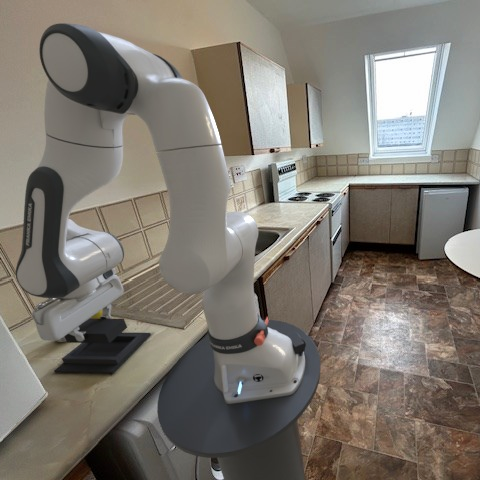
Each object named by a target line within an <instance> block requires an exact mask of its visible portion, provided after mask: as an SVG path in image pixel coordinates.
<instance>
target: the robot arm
mask: <svg viewBox="0 0 480 480" xmlns="http://www.w3.org/2000/svg"><path fill="white" fill-rule="evenodd" d="M39 60H40V62H41V63H40V64H41V66H42V69H43V71H44V73H45V75H46V77H47V79H48V80H47V83H46V89H45V96H44V112H43V113H44V114H43V115H44V131H45V147H44V151H43V155H42V157H41V160H40V162H39V165H37V167H36V168H35V169H34V170H33V171H32V172H31V173H30V174H29V175H28V178H27V182H26V186H25V194H24V206H23V207H24V208H23V224H22V227H23V228H22V238H21V239H22V240H21V250H20V254H19V258H18V260H17V262H16V267H15V279H16V281H17V283H18V285H19V286H20V288H21V289H22V290H23V291H24V292H25V293H27V294H29V295H30V296H33V297H38V298H43V299H46V300H44V301H40V302H39V303H37V304H36V306H35V308H34V309H33V311H32V312H31V317H32V320H33V321H34V324H35V327H36V331H37V333H38V335H39V337H40V339H41V340H42V341H50V342H54V341H56V342H58V341H57V340H60V339H61V338H63V337H64V336H66V335H67V334H70V335H73V336H75V338H76V340H77V341H84V340H85V339H86V338H87V337H88V335H87V332H79V331H77V330H79V329H80V328H79V326H80V325H81V324H82V323H84V322H85V321H87V320H88V319H89V318H91V317H92V316H94V315H95V314H96V313H98V312H99V311H101V310H102V316H100V318H101V319H113V317H112V315H111V312H112V303H114V302H115V301H116V300H117V299H119V298H120V297H122V296H123V295H124V289H125V288H124V286H123V284H122V282H121V279H120V277H119V276H118V275H117V271H116V269H115V268H116V267H117V266H119V265H120V264H122V263H123V261H124V258H125V250H124V249H125V248H124V245H123V244H122V242H121V240H120V239H118V238H117V236H115V235H114V234H112V233H111V232H108V231H105V230H94V229H89V228H87V227H82V226H80V225H78V224H77V223H76V222H74V220H73V219H71V218H70V214H71V213H72V211H73V209H74V208H75V207H76V206H77V205H78V204H79V203H80V202H81V201H83V200H84V199H85V198H86V197H88V196H89V195H91V194H92V193H94V192H96V191H97V190H99V189H101V188H103V187H105V186H107V185H108V184H110V183H111V182H112V181H114V180H115V179H116V178H117V177H118V176H119V175H120V172H121V169H122V167H123V161H124V136H123V135H124V134H123V127H124V126H123V125H124V122H125V120H126V118H127V117H129V116H137V117H139V119H141V120H142V121H143V122H144V124H145V125H146V127H147V129H148V131H149V134H150V137H151V140H152V143H153V147H154V151H155V152H156V158H157V160H158V163H159V167H160V170H161V173H162V176H163V179H164V183H165V187H166V191H167V195H168V201H169V227H168V236H167V239H166V243H165V245H164V248H163V250H162V252H161V253H160V256H159V259H158V267H159V271H160V275H161V277H162V278H163V280H164V282H165V283H166V284H167V285H168V286H169V287H171V289H173V290H175V291H177V292H179V293H181V294H185V295H199V294H201V293H203V294H202V298H201V306H202V311H203V313H204V317H205V321H206V325H207V331H206V332H207V337H209V342H210V346H211V348H212V349H213V351H214V358H215V374H214V382H215V385H216V387H217V388H218V389H219V390H220V391H221V392H222V393H223V395H224V399H225V402H226V403H227V404H233V403H240V402H247V401H254V400H261V399H268V398H275V397H282V396H288V395H292V394H293V393H294V392H295V391H296V390H297V388H298V387H299V385H300V383H301V381H302V378H303V375H304V370H305V356H304V352H303V351H305V347H306V343H305V341H304V340H303V339H301V338H300V336H299V334H298V333H297V332H294V333H292V334H289V335H288V336H286V335H283V334H281V333H279V332H278V331H276V330H273V329H271V328H269V327H267V324H268V320H269V316H266V317H265V319H262V317H261V316H260V315H259V313H258V309H257V303H256V297H255V288H254V287H255V285H254V280H255V279H254V277H255V255H256V245H257V242H258V238H259V226H258V224H257V223H256V221H255V219H254V218H253V217H252V216H251V215H249V214H247V213H246V212H243V211H228V212H227V209H228V200H229V196H230V194H231V189H232V182H231V179H230V178H231V177H230V175H229V170H228V166H227V162H226V157H225V154H224V149H223V145H222V140H221V137H220V133H219V130H218V127H217V123H216V120H215V118H214V115H213V113H212V110H211V107H210V105H209V102H208V100H207V98H206V96H205V94H204V92H203V90H202V89H201V88H200V87H199V86H198V85H196V84H195V83H194V82H192V81H190V80H187V79H185V78H183V76H182V75H181V73H180V71H179V70H177V68H176V67H175V66H174V65H173V64H172V63H171V62H169V61H168V60H167V59H166V58H164V57H162V56H160V55H158V54H155V53H152V52H150V51H148V50H146V49H145V48H142V47H140V46H137V45H136V44H135V43H133V42H131V41H129V40H127V39H124V38H121V37H119V36H114V35H112V34H109V33H104V32H100V31H97V30H96V29H94V28H92V27H90V26H87V25H82V24H75V23H65V22H63V23H54V24H52V25H49V26H48V27H47V28H46V29H45V31H43V33H42V35H41V37H40V41H39ZM263 320H265V322H264V321H263ZM295 382H296V383H295ZM236 396H237V397H236Z"/></svg>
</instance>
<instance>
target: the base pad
mask: <svg viewBox="0 0 480 480" xmlns="http://www.w3.org/2000/svg"><path fill="white" fill-rule="evenodd" d="M151 336H152V334H151V332H122V333H121V334H119V335H118V336H117V337H116V338H115V339H114V340H113V341H112V342H110V343H79V344H78V345H77V346H76V347H74V348H73V349H72V350H71V351H69V352H68V353H67V354H65V355H64V356H63V357H62V358H61V361H62V363H61V364H60V365H59V366H58V367H56V368H55V369H54V370H53V371H54V373H55V374H93V375H94V374H98V375H114V374H115V372H116V371H118V369H119V368H121V366H122V365H123V364H124V363H125V362H126V361H127V360H128V359H129V358H130V357H131V356H132V355H133V354H134V353H135V352H136V351H137V350H138V349H139V348H140V347H141V345H143V343H144V342H146V341H147V340H148V338H149V337H151Z"/></svg>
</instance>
